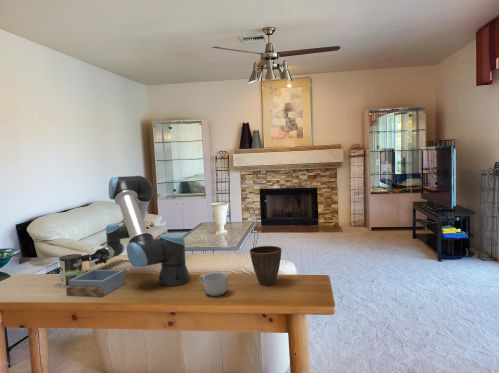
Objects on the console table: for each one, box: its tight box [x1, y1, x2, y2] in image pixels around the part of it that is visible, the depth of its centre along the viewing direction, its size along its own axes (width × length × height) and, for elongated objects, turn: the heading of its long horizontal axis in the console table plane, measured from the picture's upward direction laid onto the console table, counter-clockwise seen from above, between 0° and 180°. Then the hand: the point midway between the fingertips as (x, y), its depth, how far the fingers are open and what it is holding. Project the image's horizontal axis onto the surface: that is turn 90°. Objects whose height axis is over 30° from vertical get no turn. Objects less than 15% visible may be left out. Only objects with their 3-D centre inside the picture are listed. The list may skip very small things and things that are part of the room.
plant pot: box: [249, 245, 282, 286], centre depth 174 cm, size 15×15×16 cm
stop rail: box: [65, 286, 105, 298], centre depth 166 cm, size 18×2×4 cm, turn 77°
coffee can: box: [58, 253, 84, 288], centre depth 185 cm, size 10×10×14 cm
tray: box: [69, 269, 126, 296], centre depth 175 cm, size 17×17×6 cm
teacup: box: [199, 271, 229, 297], centre depth 163 cm, size 14×11×8 cm
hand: (78, 264), depth 191 cm, fingers open, 13 cm apart
